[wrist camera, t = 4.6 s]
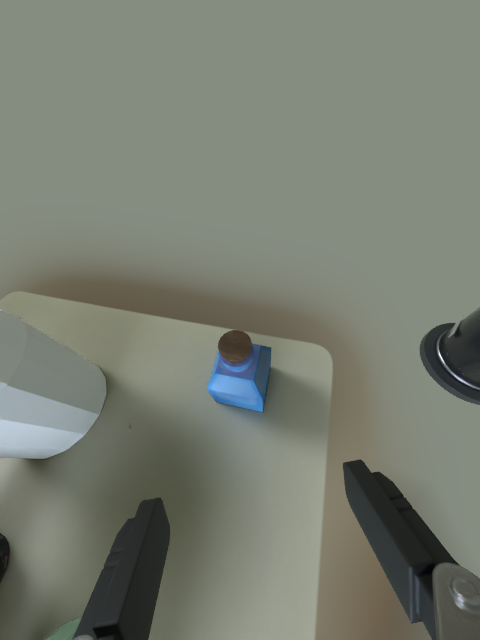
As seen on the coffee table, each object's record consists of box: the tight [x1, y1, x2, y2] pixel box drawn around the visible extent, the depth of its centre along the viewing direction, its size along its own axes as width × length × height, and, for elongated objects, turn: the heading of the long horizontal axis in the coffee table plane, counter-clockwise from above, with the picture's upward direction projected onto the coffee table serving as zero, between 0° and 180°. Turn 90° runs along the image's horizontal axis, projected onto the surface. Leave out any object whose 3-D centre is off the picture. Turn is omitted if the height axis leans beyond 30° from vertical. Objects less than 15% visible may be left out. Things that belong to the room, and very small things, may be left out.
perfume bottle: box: [207, 330, 271, 412], centre depth 26 cm, size 6×6×12 cm
